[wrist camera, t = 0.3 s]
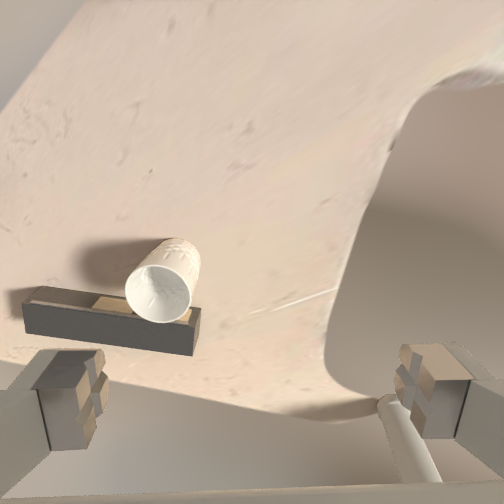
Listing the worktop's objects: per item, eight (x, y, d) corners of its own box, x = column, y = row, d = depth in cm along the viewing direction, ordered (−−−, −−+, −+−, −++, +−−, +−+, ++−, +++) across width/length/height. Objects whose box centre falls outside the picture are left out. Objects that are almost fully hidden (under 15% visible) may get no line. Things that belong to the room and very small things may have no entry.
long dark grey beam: (42, 284, 55) (21, 302, 50) (201, 307, 55) (195, 326, 51) (45, 313, 57) (25, 333, 52) (198, 335, 57) (192, 356, 53)
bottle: (370, 410, 62) (428, 598, 39) (384, 389, 60) (455, 572, 37) (397, 419, 62) (472, 609, 39) (413, 398, 60) (500, 585, 37)
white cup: (208, 239, 51) (194, 271, 42) (201, 288, 54) (187, 328, 45) (151, 229, 51) (125, 259, 41) (148, 279, 54) (123, 317, 45)
